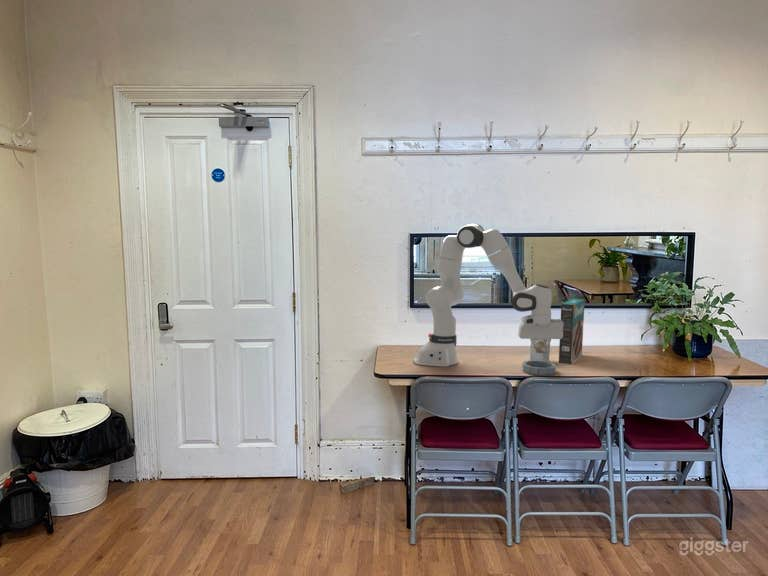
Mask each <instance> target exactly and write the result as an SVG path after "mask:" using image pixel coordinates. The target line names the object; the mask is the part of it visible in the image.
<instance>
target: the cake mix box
mask: <svg viewBox="0 0 768 576" xmlns="http://www.w3.org/2000/svg"><path fill="white" fill-rule="evenodd" d="M585 302H586V301H585V299H583V298H582V299H580V298H571V299H569V300H566V301H564V302H562V303H561V304H560V320H562V321H563V323H564V325H563V338H562V339H559V345H558V346H559V347H558V363H559V364H566V365H572V364H574V362H576V361H577V360H578V359H580V358H581V357H582V355H583V339H584V338H583V337H584V322H585V319H584V318H585Z"/></svg>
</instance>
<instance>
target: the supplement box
mask: <svg viewBox="0 0 768 576" xmlns="http://www.w3.org/2000/svg"><path fill="white" fill-rule="evenodd" d="M536 341H544V342H545V344H546V343H547V339H534V341H533V343H534V344H536ZM529 350H530V351H529V360H542V361H548V362H550V352H551V351H550V350H551V342H550V343H549V345H548V348H545V353H536V352H535V350H536V348H532V343H531V342H530V349H529Z"/></svg>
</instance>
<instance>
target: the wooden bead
mask: <svg viewBox="0 0 768 576" xmlns="http://www.w3.org/2000/svg"><path fill="white" fill-rule="evenodd" d="M535 352H536V353H545V342H544V341H536V350H535Z"/></svg>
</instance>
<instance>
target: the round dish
mask: <svg viewBox="0 0 768 576" xmlns="http://www.w3.org/2000/svg"><path fill="white" fill-rule="evenodd" d="M521 368H522V372H523V373H525V374H528V375H533V376H539V377H541V376H542V377H549V376H554V375H555V374H556V371H557V365H556V363H554V362H551V361H542V360H530V359H528V360H524V361H523V362H522V363H521Z"/></svg>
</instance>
